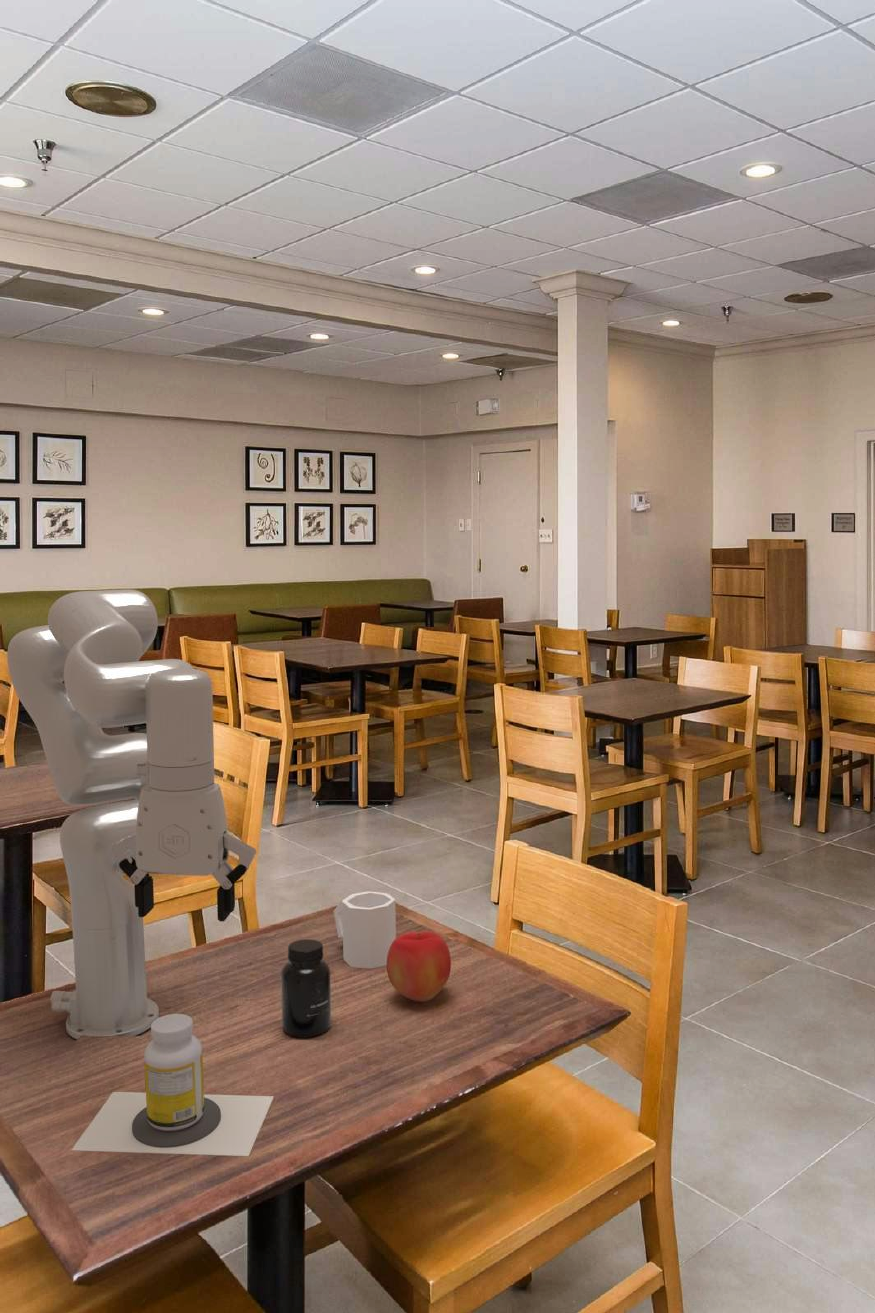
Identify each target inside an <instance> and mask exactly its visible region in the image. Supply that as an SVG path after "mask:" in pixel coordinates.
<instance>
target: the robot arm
mask: <svg viewBox="0 0 875 1313" xmlns="http://www.w3.org/2000/svg"><path fill="white" fill-rule="evenodd" d="M158 622H159V620H158V613H157V610H156V607H155V605H154V603H153V601H152V600H151V599H150V598H149V596H148V595H146V594H145V593H144V592H142V591H141V590H140V591H139V590H137V589H129V588H128V589H127V588H126V589H125V588H123V589H109V590H108V589H107V590H103V589H102V590H101V589H100V590H82V591H81V590H80V591H74V592H70V593H67V594H65V595H63V596H61V597H59V598H57V600H55V602H53V604H52V605H51V607H50V608H49V611H48V615H47V625H46V624H45V625H40V626H39V625H38V626H33V627H29V628H26V629H24V630H21V631H20V632H18V633H16V634H15V635H14V636H13V637H12V638H11V640H10V641H9V644H8V646H7V651H6V652H7V656H6V658H7V668H8V674H9V677H10V680H11V684H12V687H13V689H14V691H15V694H16V696H17V698H18V699H19V702H20V703H21V704H22V706H23V708H24V709H25V710H26V712H27V714H29V715H28V716H30V718H31V719H32V722H34V723H33V724H34V725H35V726H36V729H37V731H38V734H39V738H40V741H41V744H42V747H43V751H44V754H45V759H46V761H47V765H48V769H49V772H50V775H51V778H52V781H53V782H52V783H53V784H54V787H55V790H56V793H57V794H58V796H59V798H60V800H62V802H64V803H65V804H67V805H69V806H77V807H81V806H89V807H86V808H83V809H80V810H78V811H75V812H74V813H71V815H69V816H68V817H67V818H66V819H65V820H64V821H63V823H62V825H61V828H60V830H59V843H60V851H61V854H62V857H63V864H64V866H65V871H66V875H67V876H66V877H67V883H68V888H69V889H68V890H69V895H70V896H69V899H70V908H71V909H70V911H71V913H70V914H71V925H72V926H71V928H72V940H73V941H72V944H73V963H74V964H73V965H74V980H75V989H74V990H73V991H66V990H63V991H62V990H54V991H52V993H51V995H50V1004H51V1011H52V1012H67V1013H69V1015H68V1016H67V1018H66V1020H65V1024H66V1025H65V1026H66V1032H67V1034H68V1035H69V1036H70V1037H72V1038H73V1039H76V1040H79V1039H80V1038H81V1037H82V1036H88V1037H108V1036H109V1037H110V1036H111V1037H112V1036H114V1037H136V1036H138V1035H139V1034H142V1033H145V1032H146V1031H147V1030H149V1029H151V1024H152V1022H153V1021H154V1020H156V1019H157V1018H159V1017H160V1012H159V1011H160V1009H159V1006H158V1004H157V1003H156V1002H155V1001H153V1000H152V999H151V998H148V994H147V993H148V992H147V975H146V974H147V972H146V970H147V968H146V952H145V933H144V931H145V930H144V917H146V916H147V915H148V914H149V913H150V912H151V911H152V910H153V909H154V907H155V902H154V901H155V896H154V895H155V894H154V893H155V892H154V878H153V876H152V875H150V874H155V875H158V874H159V875H172V876H173V875H175V876H178V875H179V876H193V877H194V876H195V877H196V876H197V877H206V876H212V877H213V878H214V879H215V880H216V881H217V883H218V884H219V885H220V886H219V887H218V889H216V900H217V901H216V906H217V908H216V909H217V920H218V921H219V922H225V921H226V920H227V919H228V917H229V916H230V914H231V913H234V910H235V906H236V894H235V893H236V891H235V890H236V888H235V886H236V885H235V883H237V882H238V881H239V880H240V879H241V878H242V877H243V876H244V875H245V874H246V872H247V871H249V868H250V866H251V864H252V862H253V861H254V860H255V859H254V858H255V857H256V855H257V850H256V848H255V847H253V846H251V845H249V844H247V843H245V842H244V841H242V840H240V839H238V837H237V838H236V837H235V836H233V835H231V834H229V830H228V829H229V828H228V820H227V812H226V807H225V801H224V797H223V792H222V789H221V786H220V784H219V783H218V782H217V783H215V750H214V749H215V747H214V742H215V740H214V739H215V738H214V709H213V708H214V705H213V704H214V701H213V700H214V699H213V682H212V678H211V677H210V675H209V674H208V673H207V672H206V671H204V670H201V669H197V668H196V669H195V668H194V667H193V666H192V664H190V663H189V662H187V661H186V660H183V659H179V658H167V659H165V658H164V659H154V660H143V661H142V660H141V661H140V659H141V657H142V656H143V655H144V654H145V653H146V651H147V650H148V649H149V648H150V646H151V645H152V644H153V642H154V640H155V638H156V635H157V632H158V625H159V624H158ZM142 724H146V726H145V727H146V733H145V732H143V733H141V732H132V733H125V734H122V733H121V734H115V735H108V734H106V733H105V732H104V731H103V728H104V729H109V728H110V729H111V728H119V727H126V726H134V725H142ZM127 799H129V800H127ZM122 800H123V801H122ZM110 802H111V803H110ZM90 805H92V806H90ZM93 805H94V806H93ZM229 852H231V853H232V854H233V853H234V854H235V855H237V856H238V857H239V861H238V864H237V865H236V866H235V868H233V867H232V865H231V864H230V863H229V862H228V861H227V860H228V859H229ZM123 873H124V874H125V875H126V876H127V877H128V878H129V881H128V880H127V879H126V878H125V877H124V876H123V875H124V874H123Z"/></svg>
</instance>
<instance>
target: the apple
mask: <svg viewBox="0 0 875 1313" xmlns="http://www.w3.org/2000/svg"><path fill="white" fill-rule="evenodd" d="M451 962H452V961H451V954H450V950H449V947H448V944H447V942H446V941H445V939H444V937H442V936H441V935H440V934H438V933H436V932H434V931H408V932H405V933H402V934H400V935H399V936H396V939H395V940H394V941H393V942H392V944H391V946H390V948H389V951H388V955H387V965H386V972H387V976H388V979H389V982H390V984H391V985H392V987H393V988H394V989H395V990H396V991H397V992H398V993H399V994H400V995H402V996H404V997H405V998H406V999H409V1000H412V1001H414V1002H420V1003H421V1002H422V1003H423V1002H428V1001H430V1000H432V999H433V998H434V997H435V996H436V995H437V994H439V992H440V991H441V990H442V989H443V988H444V987H445V986H446V984H447V982H448V980H449V977H450V973H451V969H452V968H451V967H452V966H451V965H452V963H451Z"/></svg>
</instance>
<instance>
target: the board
mask: <svg viewBox="0 0 875 1313" xmlns="http://www.w3.org/2000/svg"><path fill="white" fill-rule="evenodd" d="M204 1097H205V1098H208V1099H210V1100H212V1101H214V1102H215V1103H216V1104H217V1105H218V1106H219V1108H220V1110H221V1120H220V1123H219V1125H218V1126H217V1127H216V1129H215V1130H214V1131H213V1132H212V1133H210V1134H209V1135H207V1136H206V1137H204V1138H202V1139H200V1140H198V1141H196V1142H193V1143H190V1144H187V1145H183V1146H178V1147H169V1148H161V1147H153V1146H148V1145H145V1144H143V1143H141V1142H139V1141H138V1140H137V1139H136V1138H135V1137H134V1135H133V1132H132V1123H133V1120H134V1118H135V1117H136V1115H137V1114H138V1113H139V1112H140V1111H141V1110H143V1109H144V1108H145V1107H147V1104H146V1092H137V1091H136V1092H135V1091H134V1092H132V1091H130V1092H129V1091H113V1092H112V1093H111V1094H110V1095H109V1097H108V1098H107V1100H106V1101H105V1102H104V1104H102V1107H100V1109H99V1111H98V1112H97V1113H96V1115H95V1117H93V1120H91V1122H90V1123H89V1125H88V1126H87V1127H86V1128H85V1130H84V1132H83V1133H82V1134H81V1136H80V1137H79V1138H78V1140H77V1141H76V1143H75V1144H74V1146H73V1147H72V1149H71V1151H75V1152H77V1151H78V1152H80V1151H81V1152H100V1153H101V1152H102V1153H103V1152H104V1153H105V1152H106V1153H107V1152H108V1153H133V1154H134V1153H135V1154H136V1153H137V1154H163V1155H164V1154H166V1155H167V1154H169V1155H195V1156H197V1155H198V1156H199V1155H200V1156H222V1157H223V1156H225V1157H226V1156H230V1157H233V1156H234V1157H249V1156H250V1153H251V1151H252V1149H253V1146H254V1144H255V1142H256V1140H257V1137H258V1135H259V1133H260V1130H261V1128H262V1125H263V1123H264V1121H265V1118H266V1116H267V1114H268V1111H269V1110H270V1107H271V1105H272V1103H273V1100H274V1097H275V1096H274V1095H271V1096H270V1095H269V1096H268V1095H240V1094H239V1095H238V1094H236V1095H235V1094H234V1095H233V1094H232V1095H231V1094H207V1093H206V1094H205V1093H204Z"/></svg>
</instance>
